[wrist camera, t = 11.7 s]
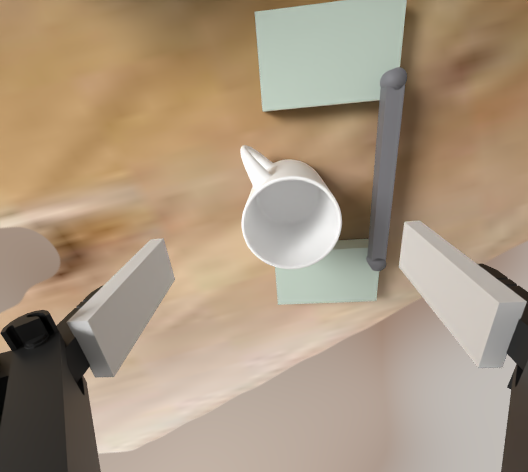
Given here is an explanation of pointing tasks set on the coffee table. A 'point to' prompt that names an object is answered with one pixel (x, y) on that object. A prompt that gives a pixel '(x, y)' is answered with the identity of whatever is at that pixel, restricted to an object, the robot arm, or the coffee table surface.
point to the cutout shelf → (334, 93)
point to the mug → (288, 212)
